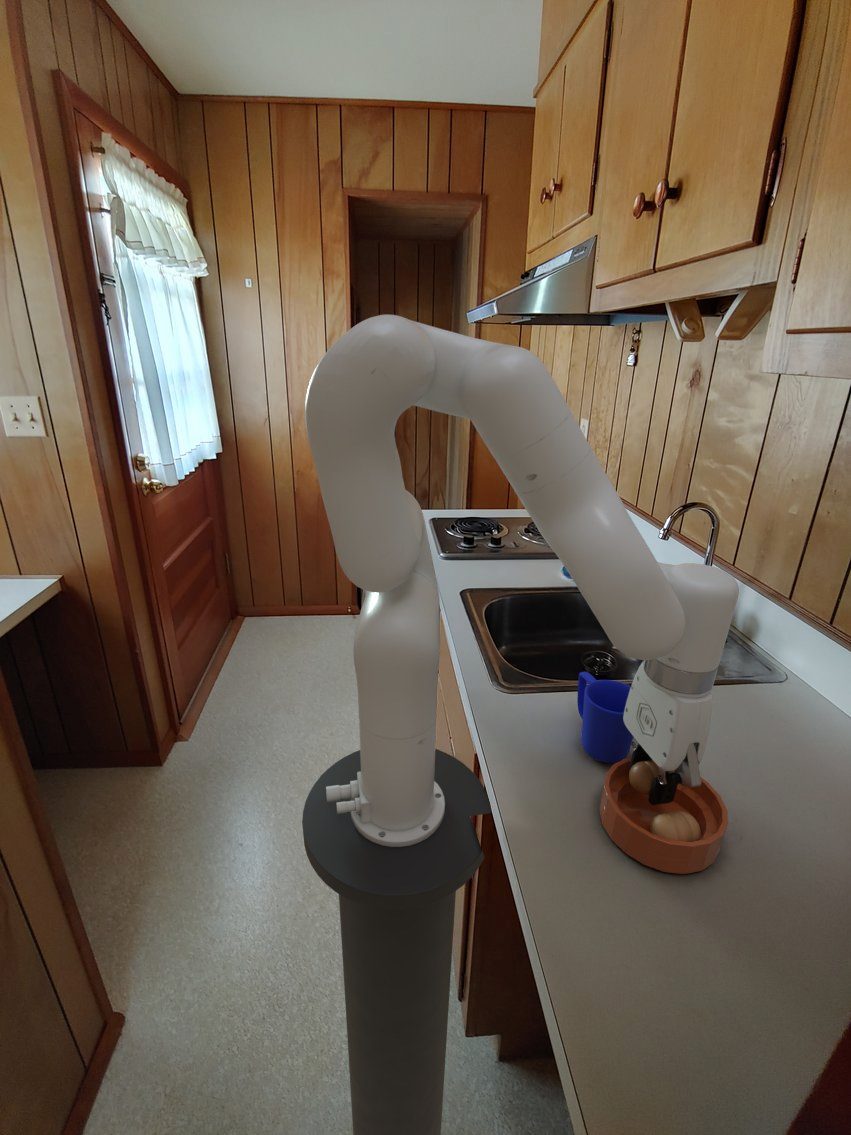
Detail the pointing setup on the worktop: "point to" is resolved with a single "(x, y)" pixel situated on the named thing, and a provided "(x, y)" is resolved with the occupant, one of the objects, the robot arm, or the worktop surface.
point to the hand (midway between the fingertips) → (649, 786)
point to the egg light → (676, 826)
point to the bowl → (633, 814)
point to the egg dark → (643, 775)
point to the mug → (603, 718)
